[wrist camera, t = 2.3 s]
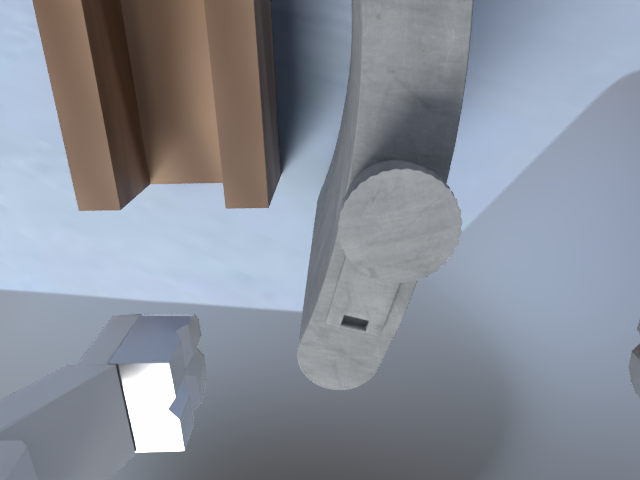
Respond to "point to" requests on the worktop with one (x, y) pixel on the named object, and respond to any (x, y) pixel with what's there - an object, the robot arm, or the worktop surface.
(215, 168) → the u rest
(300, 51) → the worktop surface
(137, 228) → the worktop surface
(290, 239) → the worktop surface
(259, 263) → the worktop surface
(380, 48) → the hip flask
